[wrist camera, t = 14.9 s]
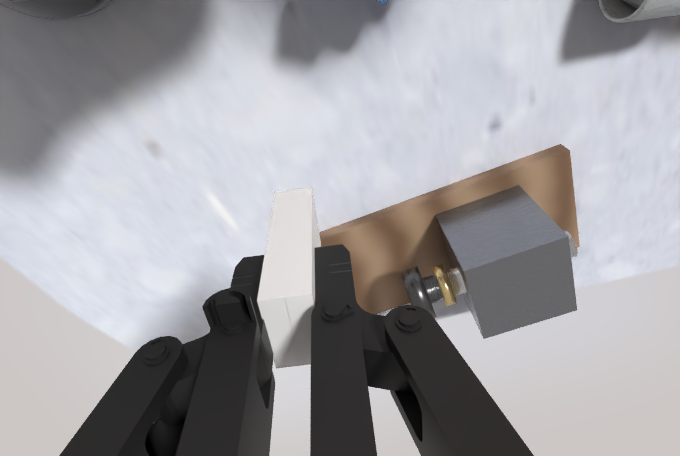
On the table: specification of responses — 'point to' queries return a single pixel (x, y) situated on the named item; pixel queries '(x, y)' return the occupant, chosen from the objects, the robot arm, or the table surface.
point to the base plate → (423, 231)
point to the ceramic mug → (638, 9)
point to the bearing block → (509, 260)
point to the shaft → (442, 284)
